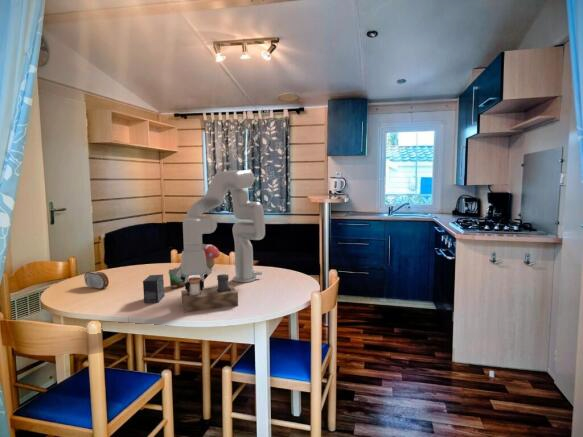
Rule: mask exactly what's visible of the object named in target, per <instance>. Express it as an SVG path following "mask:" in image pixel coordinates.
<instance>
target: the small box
mask: <svg viewBox="0 0 583 437" xmlns="http://www.w3.org/2000/svg"><path fill="white" fill-rule="evenodd" d="M142 286H143V287H142V290H143V303H144V304H158V303H160V302H161V301H162V300H163V298H164V297H165V287H164V286H165V284H164V274H151V275H149V276H147V277H146V278H145V279H144V280H143V281H142Z"/></svg>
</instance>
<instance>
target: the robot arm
mask: <svg viewBox="0 0 583 437" xmlns="http://www.w3.org/2000/svg"><path fill="white" fill-rule="evenodd" d="M254 183H255V175H254V173H253V171H252V170H249V169H244V170H242V169H238V170H237V169H235V170H234V169H233V170H231V169H230V170H225V171H224V170H223V171H218V172H216V173H215V174H214V176H213V177H212V180H211V183H210V184H209V186H208V188H207V191H206V192H205V195H203V196H201V198H200V199H198V200H196V202H194V203H193V204H192V205H191V206H190V207H189V209H188V211H187V212H186V215H185V217H184V220H182V234H183V235H182V236H183V250H182V251H181V254H180V257H181V258H180V264H181V268H180V269H179V271H178V272H177V274H176V276H177V277H179V278H180V279H182V280H183V281H184V282H185V287H184V290H187V292H189V281H188V279H189V278H190V276H200V277H199V278H200V290H201V291H202V290H203V288H205V280H206V279H207V278H208V277H209V275H211V274H212V273H213V271H212V269H209V268H208V267H207V266H206V257H205V252H204V250H203V248H204V247H206V245H207V244H205V243H203V235H205V234H212V233H214V232H215V231H216V229H217V228H218V222H217V220H216V219H215V218H214V217H212V216H209V215H207V216H206V215H202V214H204V213H205V212H208V211H210V210H213V209H216V208H218V207H219V206H221V205H222V204H223V203H224V201H225V198H226V195H227V193H228V191H230V194H231V199H232V210H233V216H234V217H235V218H236V219H237V220H241V221H236V222H235V223H234V224H233V226H232V236H233V241H234V265H235V266H234V267H235V268H234V269H235V270H234V271H235V272H234V273H235V276H233V277H232V280H233V281H234V282H236V283H250V282H255V280H257V276H262V274H263V273H262V272H263V271H259V270H258V271H257V270H256V271H255V270H254V250H253V249H254V248H253V244H252V243H251V240H253V241H260V240H262V239H264V238H265V236H266V224H265V223H266V222H265V211H264V207H263V205H262V203H261V202H259V201H250V199H249V192H248V189H247V188H250V187H252V186H253V185H254ZM243 220H244V221H243ZM246 220H249V221H246ZM181 273H182V275H184V276H185V277H183V276H182V275H180V274H181Z"/></svg>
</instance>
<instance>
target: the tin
mask: <svg viewBox="0 0 583 437" xmlns="http://www.w3.org/2000/svg"><path fill="white" fill-rule="evenodd" d="M83 276H84V283H85V285H86V286H87V287H89V288H90V287H91V288H90V289H97V290H103V289H104V290H105V289H107V287H108V286H109V284H110V283H109V277H108V276H107V274H106V273H105V272H103V271H97V270H96V271H95V270H90V271H87V272H85V273H84V275H83Z"/></svg>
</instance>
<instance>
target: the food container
mask: <svg viewBox="0 0 583 437" xmlns="http://www.w3.org/2000/svg"><path fill="white" fill-rule="evenodd" d="M180 268H181V263H180V265H179V266H177V267H174V268H173V269H168V275H169V282H170V289H171V290H172V289H173V290H175V289H182V288H185V282H184V281H183V280H182V279H180V278H179V277H177V276H176V274H177V272H178V271H179V269H180ZM180 275H182V273H181V274H180ZM182 276H183V277H185V276H184V275H182Z"/></svg>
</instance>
